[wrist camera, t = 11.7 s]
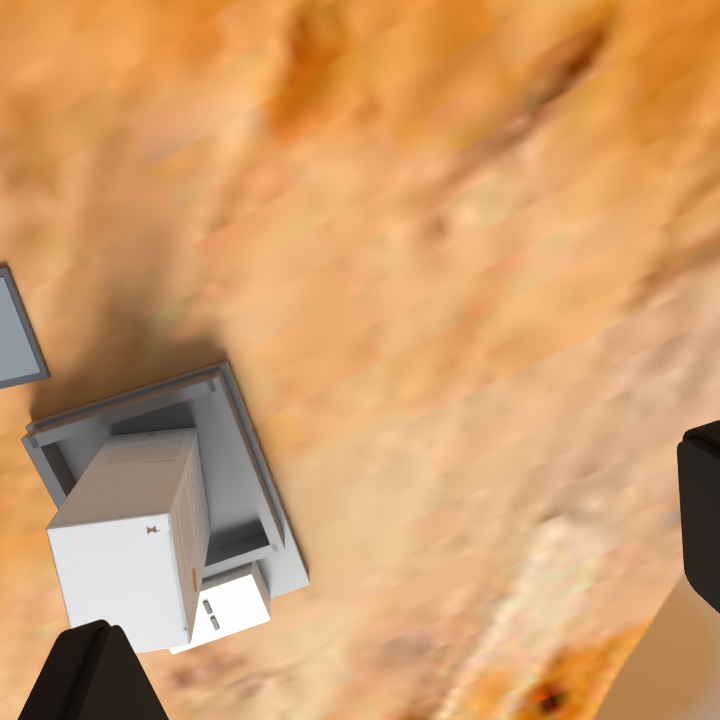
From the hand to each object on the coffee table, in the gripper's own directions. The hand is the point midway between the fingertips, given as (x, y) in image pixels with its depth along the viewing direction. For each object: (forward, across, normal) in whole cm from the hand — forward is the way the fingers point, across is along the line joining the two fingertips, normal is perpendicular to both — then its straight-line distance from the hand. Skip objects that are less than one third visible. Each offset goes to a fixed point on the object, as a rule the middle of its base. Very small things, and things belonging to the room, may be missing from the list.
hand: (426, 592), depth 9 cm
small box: (+27, +13, +9) cm, 31 cm away
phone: (+28, +18, -3) cm, 34 cm away
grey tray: (+27, +12, +12) cm, 32 cm away
